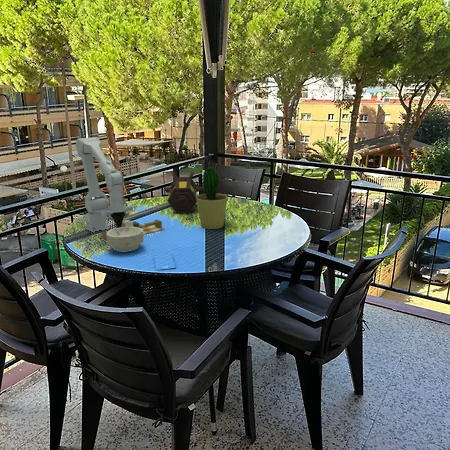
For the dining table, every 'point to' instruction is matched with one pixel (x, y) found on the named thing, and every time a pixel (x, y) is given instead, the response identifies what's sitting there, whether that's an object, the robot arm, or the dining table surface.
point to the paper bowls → (125, 238)
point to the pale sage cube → (127, 223)
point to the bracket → (136, 224)
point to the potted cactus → (211, 201)
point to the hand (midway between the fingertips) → (118, 228)
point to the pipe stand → (145, 228)
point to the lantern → (183, 193)
